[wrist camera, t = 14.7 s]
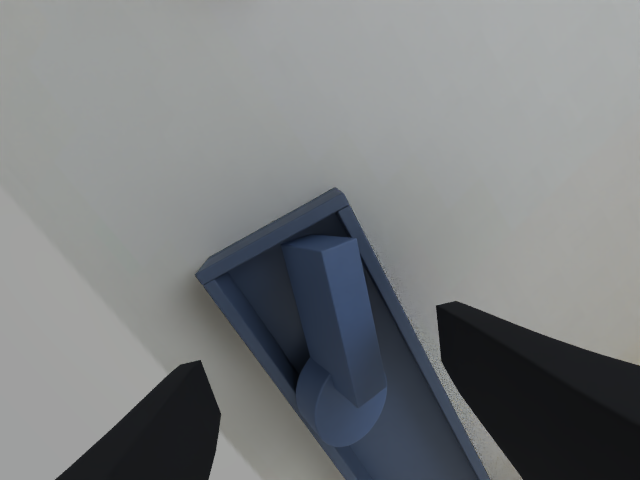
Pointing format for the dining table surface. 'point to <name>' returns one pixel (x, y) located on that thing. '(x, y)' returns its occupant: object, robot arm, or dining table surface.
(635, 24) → the dining table surface
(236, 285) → the slate tray
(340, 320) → the slate spoon
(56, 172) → the dining table surface
